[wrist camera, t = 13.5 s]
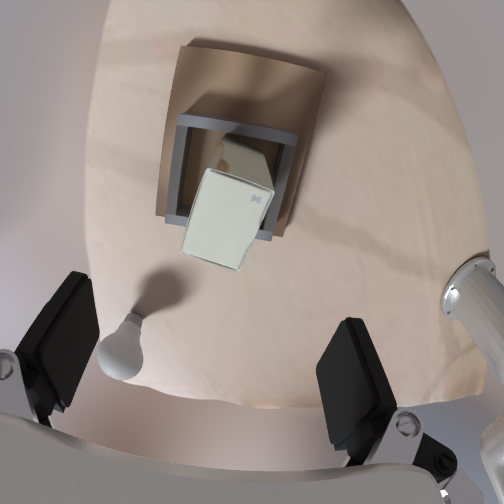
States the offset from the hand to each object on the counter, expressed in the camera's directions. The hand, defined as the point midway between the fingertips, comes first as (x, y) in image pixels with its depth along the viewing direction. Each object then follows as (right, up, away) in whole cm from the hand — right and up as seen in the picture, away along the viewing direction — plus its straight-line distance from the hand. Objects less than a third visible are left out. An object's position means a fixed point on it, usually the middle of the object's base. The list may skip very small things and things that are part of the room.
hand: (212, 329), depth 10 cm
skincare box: (-1, +11, +18) cm, 21 cm away
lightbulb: (-15, -6, +29) cm, 34 cm away
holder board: (0, +14, +18) cm, 23 cm away
